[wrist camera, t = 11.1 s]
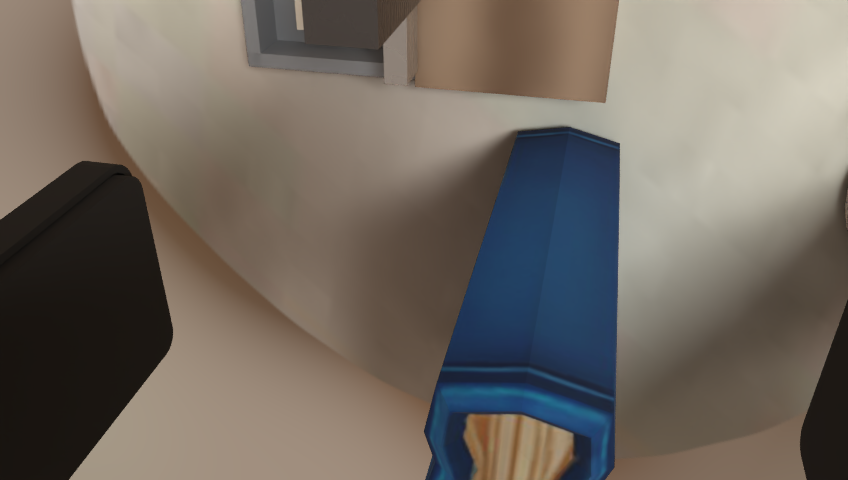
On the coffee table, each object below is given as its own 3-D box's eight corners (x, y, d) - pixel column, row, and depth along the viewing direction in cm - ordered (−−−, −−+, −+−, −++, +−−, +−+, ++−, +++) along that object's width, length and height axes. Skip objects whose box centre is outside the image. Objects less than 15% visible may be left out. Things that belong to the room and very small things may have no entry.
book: (510, 103, 45) (407, 397, 25) (634, 116, 44) (636, 438, 23) (485, 381, 57) (401, 740, 36) (583, 398, 56) (553, 780, 35)
